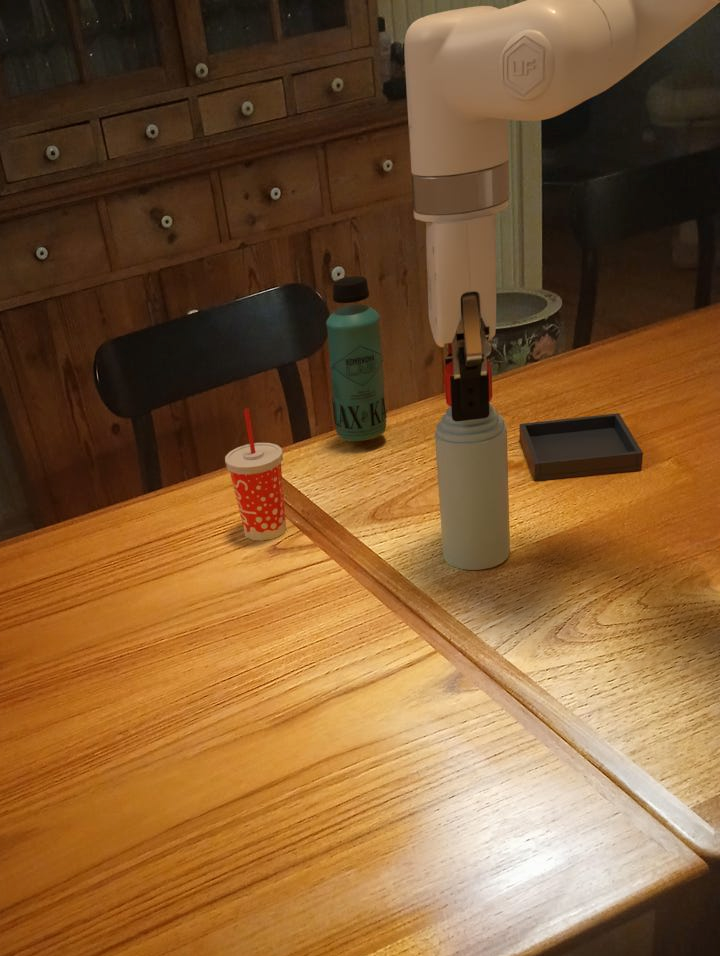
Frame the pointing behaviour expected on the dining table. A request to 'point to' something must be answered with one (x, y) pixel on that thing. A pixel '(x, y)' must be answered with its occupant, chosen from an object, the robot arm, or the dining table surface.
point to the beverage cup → (258, 486)
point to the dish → (580, 447)
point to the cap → (449, 372)
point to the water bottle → (473, 490)
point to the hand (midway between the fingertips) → (467, 407)
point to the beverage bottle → (356, 363)
